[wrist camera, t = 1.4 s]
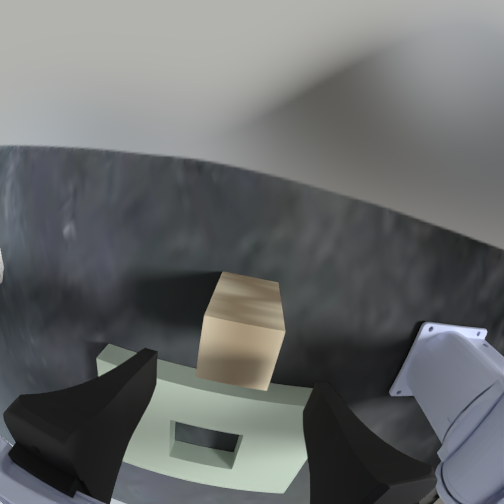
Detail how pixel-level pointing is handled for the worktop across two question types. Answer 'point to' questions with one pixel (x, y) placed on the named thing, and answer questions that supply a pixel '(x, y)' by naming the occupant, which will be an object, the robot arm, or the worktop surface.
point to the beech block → (241, 332)
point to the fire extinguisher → (1, 268)
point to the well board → (217, 428)
